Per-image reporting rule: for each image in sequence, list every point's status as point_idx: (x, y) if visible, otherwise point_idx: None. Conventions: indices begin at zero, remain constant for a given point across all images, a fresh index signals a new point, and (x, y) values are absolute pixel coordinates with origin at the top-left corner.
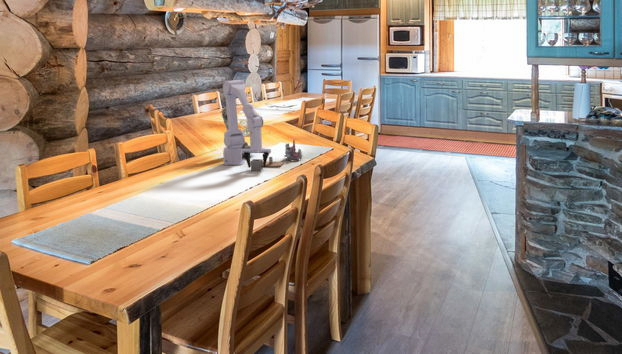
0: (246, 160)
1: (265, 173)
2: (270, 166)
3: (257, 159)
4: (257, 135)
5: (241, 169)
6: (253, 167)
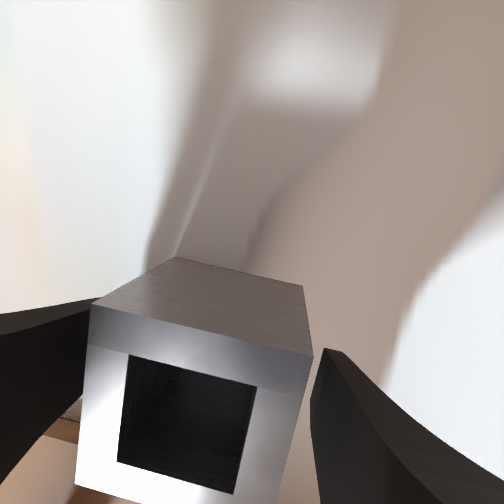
0: (418, 424)
1: (104, 103)
2: (70, 432)
3: (171, 493)
4: None
5: (431, 405)
6: (264, 292)
